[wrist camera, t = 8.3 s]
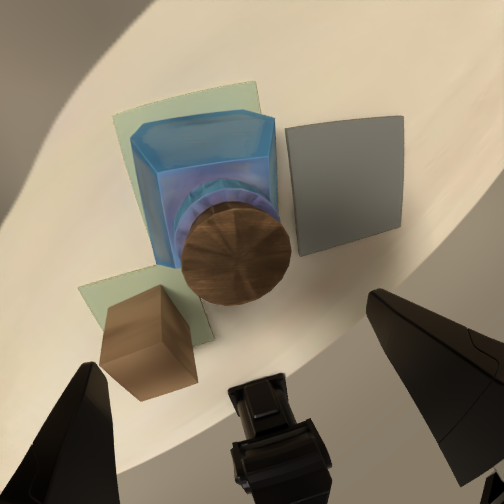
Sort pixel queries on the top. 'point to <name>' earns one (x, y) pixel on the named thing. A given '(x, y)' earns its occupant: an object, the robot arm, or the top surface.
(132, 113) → the code mat
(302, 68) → the top surface
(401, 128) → the slate coaster
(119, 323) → the walnut block
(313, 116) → the top surface
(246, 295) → the perfume bottle
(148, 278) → the code mat
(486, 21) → the top surface
